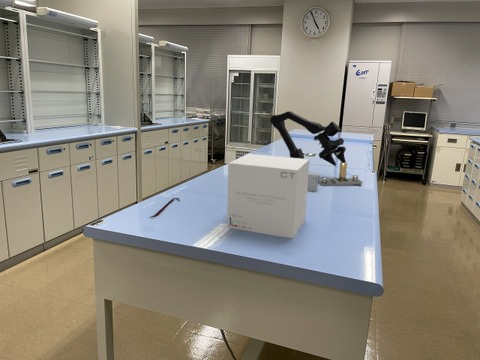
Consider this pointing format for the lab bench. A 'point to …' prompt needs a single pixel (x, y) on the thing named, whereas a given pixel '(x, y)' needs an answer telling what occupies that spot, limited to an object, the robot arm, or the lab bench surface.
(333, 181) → the metal bracket
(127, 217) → the lab bench surface
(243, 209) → the cube
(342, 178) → the brass pin
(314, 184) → the medicine box
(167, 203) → the crowbar
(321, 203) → the lab bench surface
